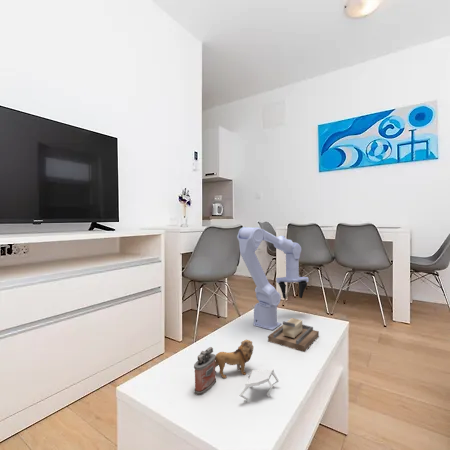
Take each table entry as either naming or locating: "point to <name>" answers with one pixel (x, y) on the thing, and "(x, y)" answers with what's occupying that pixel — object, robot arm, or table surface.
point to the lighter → (205, 371)
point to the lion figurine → (235, 357)
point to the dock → (299, 341)
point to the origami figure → (259, 380)
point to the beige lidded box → (292, 327)
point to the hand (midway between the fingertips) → (292, 297)
